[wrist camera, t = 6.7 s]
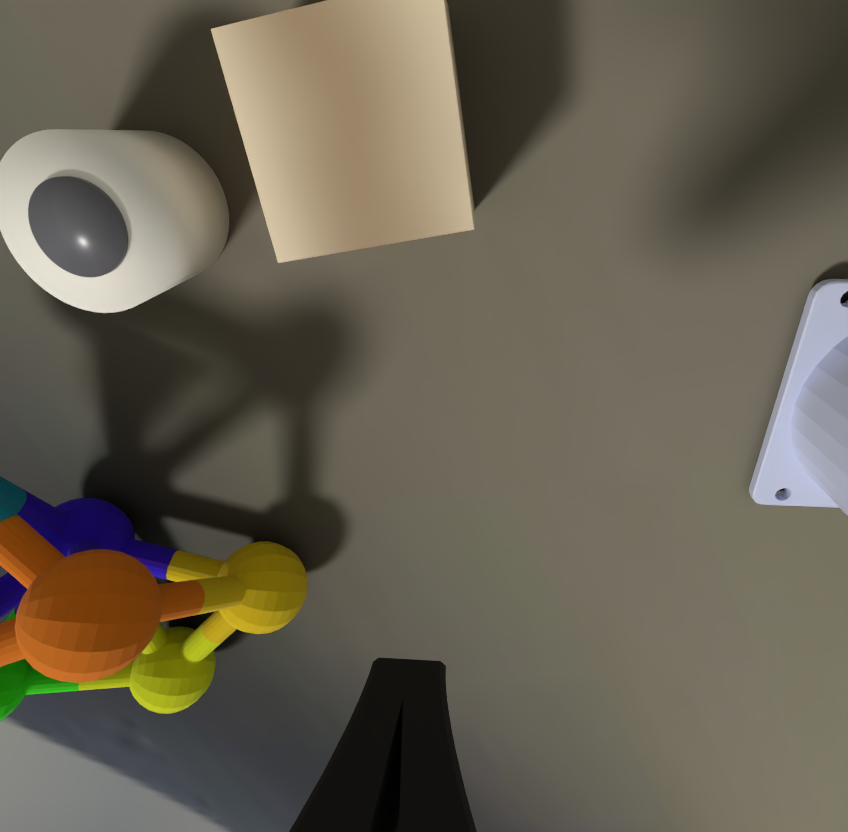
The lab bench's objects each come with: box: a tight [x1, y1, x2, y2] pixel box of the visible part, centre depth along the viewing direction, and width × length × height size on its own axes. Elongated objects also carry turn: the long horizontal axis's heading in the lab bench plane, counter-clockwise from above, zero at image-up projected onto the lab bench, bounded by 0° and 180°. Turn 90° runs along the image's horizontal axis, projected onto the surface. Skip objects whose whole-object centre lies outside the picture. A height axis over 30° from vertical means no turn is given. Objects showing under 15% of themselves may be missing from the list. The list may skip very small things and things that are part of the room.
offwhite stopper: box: [0, 129, 229, 313], centre depth 16 cm, size 4×4×4 cm
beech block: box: [211, 0, 475, 263], centre depth 14 cm, size 5×5×4 cm
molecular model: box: [0, 477, 308, 721], centre depth 20 cm, size 15×10×15 cm
